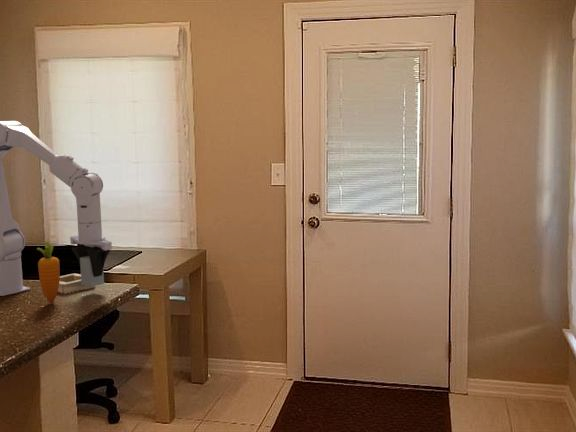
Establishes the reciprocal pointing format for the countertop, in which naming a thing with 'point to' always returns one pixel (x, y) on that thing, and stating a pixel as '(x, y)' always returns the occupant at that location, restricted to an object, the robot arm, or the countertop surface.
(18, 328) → the countertop surface
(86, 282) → the slate square peg
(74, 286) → the birch well block
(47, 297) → the carrot
